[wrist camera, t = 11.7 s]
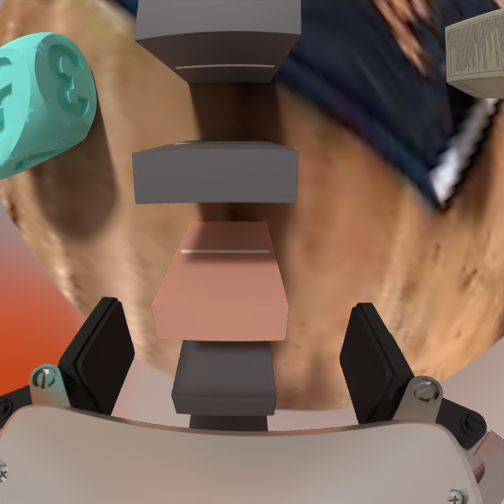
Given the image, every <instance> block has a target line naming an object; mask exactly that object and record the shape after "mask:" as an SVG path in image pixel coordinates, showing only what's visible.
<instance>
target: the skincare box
mask: <svg viewBox="0 0 504 504" xmlns="http://www.w3.org/2000/svg"><path fill="white" fill-rule="evenodd" d="M445 39H446V81H447V83H448V84H450V85H452V86H454V87H456V88H458V89H460V90H462V91H464V92H465V93H467V94H469V95H471V96H473V97H475V98H504V8H503V9H499V10H496V11H492V12H489V13H486V14H482V15H479V16H476V17H473V18H470V19H467V20H464V21H461V22H458V23H456V24H453V25H450V26H448V27H446V28H445Z"/></svg>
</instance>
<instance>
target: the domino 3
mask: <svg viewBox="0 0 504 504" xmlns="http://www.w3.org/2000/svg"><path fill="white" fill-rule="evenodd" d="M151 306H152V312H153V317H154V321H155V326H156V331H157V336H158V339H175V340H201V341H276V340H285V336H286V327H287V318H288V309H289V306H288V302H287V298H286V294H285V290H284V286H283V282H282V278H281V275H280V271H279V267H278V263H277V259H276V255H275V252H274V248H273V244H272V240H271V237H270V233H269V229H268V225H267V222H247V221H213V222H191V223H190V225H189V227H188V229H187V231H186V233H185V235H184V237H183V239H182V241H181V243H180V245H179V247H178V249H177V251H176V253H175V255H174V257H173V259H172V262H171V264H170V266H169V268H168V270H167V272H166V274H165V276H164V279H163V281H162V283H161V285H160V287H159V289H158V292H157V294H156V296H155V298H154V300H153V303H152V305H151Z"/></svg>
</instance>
